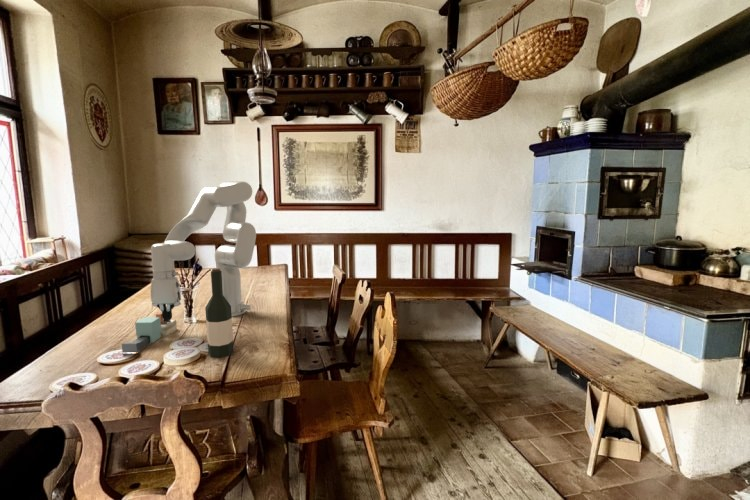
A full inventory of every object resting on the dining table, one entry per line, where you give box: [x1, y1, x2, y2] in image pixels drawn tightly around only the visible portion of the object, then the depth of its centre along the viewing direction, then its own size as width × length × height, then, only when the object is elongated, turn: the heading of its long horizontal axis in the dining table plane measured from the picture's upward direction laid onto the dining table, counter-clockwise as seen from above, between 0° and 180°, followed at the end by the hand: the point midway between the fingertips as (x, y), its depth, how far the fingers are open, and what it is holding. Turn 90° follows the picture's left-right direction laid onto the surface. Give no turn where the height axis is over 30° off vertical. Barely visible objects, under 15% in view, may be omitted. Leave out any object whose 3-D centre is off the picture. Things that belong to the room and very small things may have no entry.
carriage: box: [134, 316, 162, 344], centre depth 152 cm, size 6×6×8 cm
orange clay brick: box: [155, 312, 163, 322], centre depth 161 cm, size 2×1×4 cm
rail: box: [121, 336, 151, 353], centre depth 148 cm, size 5×17×4 cm, turn 1°
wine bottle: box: [205, 267, 235, 359], centre depth 139 cm, size 8×8×30 cm
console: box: [160, 319, 178, 337], centre depth 161 cm, size 10×8×5 cm
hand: (167, 320), depth 161 cm, fingers closed
